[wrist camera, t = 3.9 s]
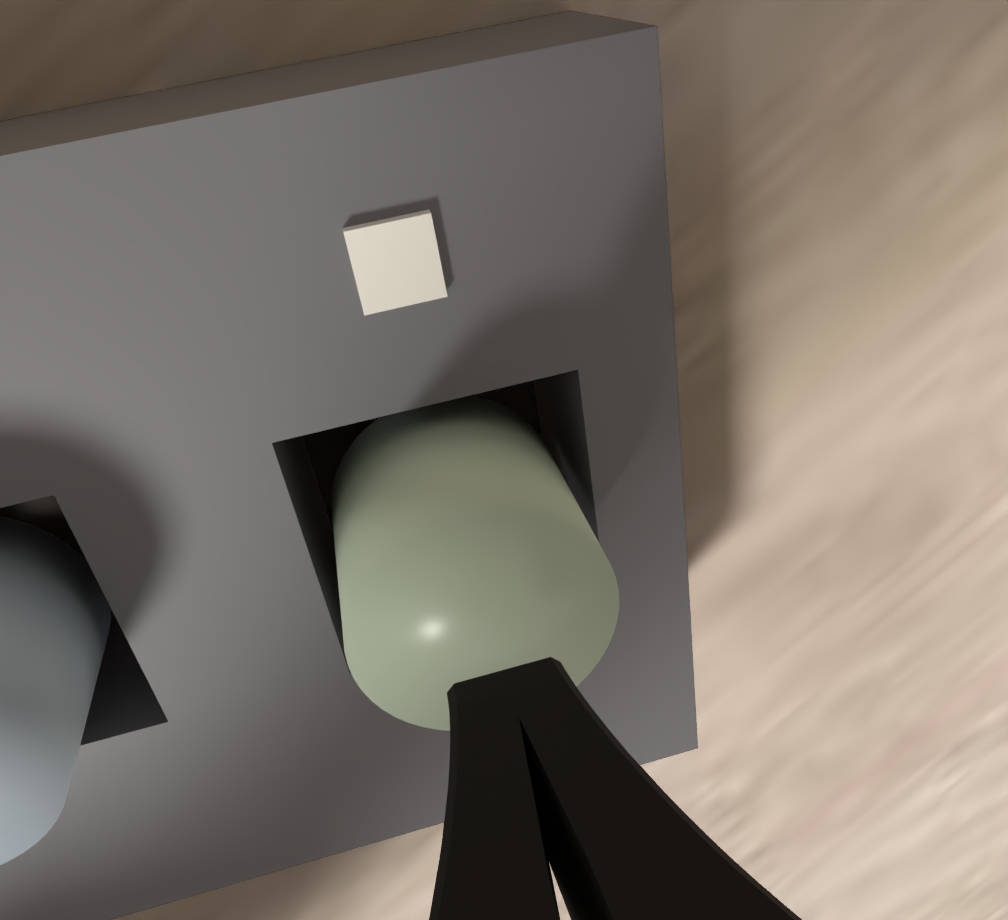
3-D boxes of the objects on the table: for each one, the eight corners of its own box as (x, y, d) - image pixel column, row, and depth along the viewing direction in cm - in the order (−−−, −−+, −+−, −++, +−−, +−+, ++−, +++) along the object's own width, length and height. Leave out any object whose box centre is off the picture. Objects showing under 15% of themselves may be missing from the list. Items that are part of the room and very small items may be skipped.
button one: (566, 557, 17) (629, 689, 14) (361, 611, 16) (380, 760, 13) (539, 370, 15) (606, 477, 12) (303, 426, 14) (310, 552, 11)
